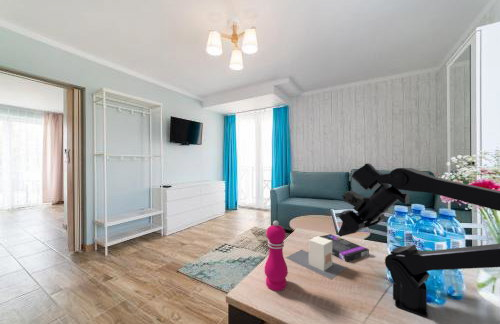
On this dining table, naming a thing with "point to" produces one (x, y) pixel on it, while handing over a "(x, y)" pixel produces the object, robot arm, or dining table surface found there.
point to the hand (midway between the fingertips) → (346, 232)
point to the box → (346, 248)
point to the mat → (303, 259)
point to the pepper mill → (276, 258)
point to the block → (320, 253)
